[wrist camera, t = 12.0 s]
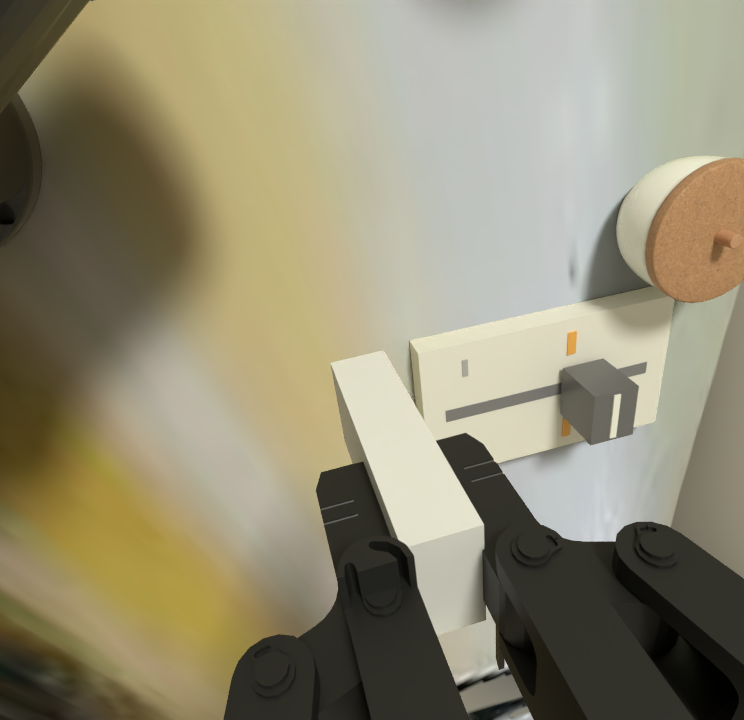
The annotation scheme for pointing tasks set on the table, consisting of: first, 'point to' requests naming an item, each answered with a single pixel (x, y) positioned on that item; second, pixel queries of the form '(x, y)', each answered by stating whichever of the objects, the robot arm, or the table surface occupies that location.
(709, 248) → the lidded jar
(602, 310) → the console
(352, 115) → the table surface
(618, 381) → the fader tab
